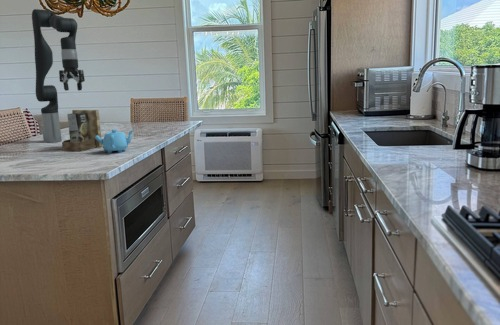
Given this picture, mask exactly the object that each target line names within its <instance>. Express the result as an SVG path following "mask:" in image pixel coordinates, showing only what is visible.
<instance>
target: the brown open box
mask: <svg viewBox="0 0 500 325" xmlns="http://www.w3.org/2000/svg"><path fill="white" fill-rule="evenodd" d="M61 143H62V144H61V145H62V151H67V152H69V151H70V152H83V151H88V150H92V149H95V148H98V147H97V145H96V139H95V138H93V139H89V140H84V141H80V143H78V142H70V139H66V140H62V141H61Z"/></svg>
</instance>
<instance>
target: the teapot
mask: <svg viewBox="0 0 500 325" xmlns="http://www.w3.org/2000/svg"><path fill="white" fill-rule="evenodd" d="M134 131H135V130H134V129H131V130H129V132H128V137H127V135H126V134H125V132H124V131H117V129H111V131H109V132H106V133H105V134H104V136H103V139H102V137H101V138H100V137H99V136H98V135H97V136H96V137H95V139H96V140H98V141H99V142H100V143H101V144H102V149H104V151H106V152H107V154H112V153H113V152H114V151H117V152H118V153H119V154H122V153H124V152H125V150H126V149H127V148H128V147H129V144H130V143H131V141H132V135H133V132H134Z"/></svg>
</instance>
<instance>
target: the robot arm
mask: <svg viewBox="0 0 500 325" xmlns="http://www.w3.org/2000/svg"><path fill="white" fill-rule="evenodd" d="M31 22H32V24H31V25H32V30H33V38H34V40H33V41H34V42H33V43H34V64H35V97H36V100H37V101H38V102H40V103H42V102H44V103H45V102H48V104H47V105H45V106H44V107H42V108H41V109H40V111H41V112H40V113H41V121H42V125H41V131H42V136H43V137H42V138H43V143H58V142H59V143H60V142H63V140H62V131H61V130H62V129H61V125H60V116H59V100H58V90H57V87H56V86H54V85H53V84H49V85H48V84H47V85H45V79H46V77H47V75H48V74H49V72H50V70H51V68H52V66H53V64H54V60H53V56H54V55H53V50H52V48H51V47H50V45H49V44H48V42H47V41H46V39H45V37H44V36H43V33H42V28H52V29H54V30H56V31H57V32H59V33H67V34H68V36H64V37H61V38H60V48H61V49H60V50H61V53H60V54H61V55H60V56H61V61H62V62H61V63H62V64H61V65H62V68H63V70H62V69H61V70H59V71H58V75H59V78H58V79H59V82H60V83H63V89H64V91H69V90H70V88H69V81H70V79H71V80H72V79H73V80H75V81H76V87H77V91H82V89H83V84H82V83H84V82H85V80H86V79H85V73H84V69H78V68H79V60H78V58H79V57H78V53H77V46H76V44H77V43H76V37H77V31H78V22H77V21H76V19H74V18H72V17H63V16H62V15H61V16H60V15H57V14H56V13H54V12H53V11H52V10H48V9H38V8H37V9H35V8H34V9H33V10H32V12H31Z"/></svg>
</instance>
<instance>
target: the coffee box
mask: <svg viewBox="0 0 500 325" xmlns="http://www.w3.org/2000/svg"><path fill="white" fill-rule="evenodd" d="M66 117H67V122H68V123H67V124H68V133H69V134H68V135H69V140H70V142H78V143H80V141H84V140H89V139H90V134H89V125H88V116H87V112H81V113H67V116H66Z"/></svg>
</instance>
